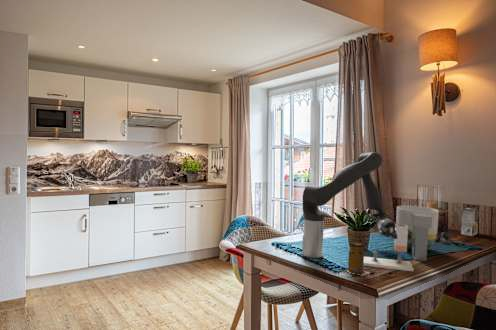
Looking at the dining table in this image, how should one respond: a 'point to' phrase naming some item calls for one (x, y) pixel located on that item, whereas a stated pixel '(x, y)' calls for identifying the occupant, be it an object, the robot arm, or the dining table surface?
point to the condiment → (356, 258)
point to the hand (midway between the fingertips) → (403, 237)
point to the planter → (405, 218)
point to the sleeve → (401, 237)
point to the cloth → (446, 240)
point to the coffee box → (469, 221)
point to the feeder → (420, 235)
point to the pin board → (388, 263)
